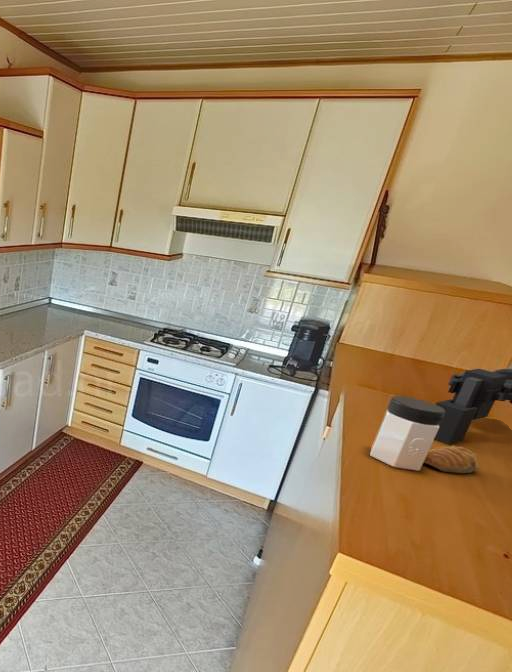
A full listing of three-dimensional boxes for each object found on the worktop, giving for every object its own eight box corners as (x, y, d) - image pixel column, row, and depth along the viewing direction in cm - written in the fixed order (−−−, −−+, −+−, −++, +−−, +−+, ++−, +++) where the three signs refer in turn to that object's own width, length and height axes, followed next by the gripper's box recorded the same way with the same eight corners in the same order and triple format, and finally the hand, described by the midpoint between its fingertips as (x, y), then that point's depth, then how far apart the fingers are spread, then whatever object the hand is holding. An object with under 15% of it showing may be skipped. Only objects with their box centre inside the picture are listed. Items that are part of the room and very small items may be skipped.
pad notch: (436, 430, 114) (450, 399, 111) (462, 440, 110) (478, 407, 107) (422, 434, 111) (436, 402, 108) (448, 444, 106) (464, 411, 104)
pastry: (447, 477, 91) (456, 459, 90) (409, 459, 97) (416, 442, 96) (478, 473, 94) (487, 455, 93) (439, 456, 100) (447, 439, 99)
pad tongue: (460, 408, 116) (479, 368, 112) (487, 416, 112) (507, 375, 108) (441, 412, 111) (459, 371, 108) (468, 421, 107) (488, 379, 104)
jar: (381, 466, 92) (406, 408, 88) (358, 447, 100) (380, 392, 96) (432, 474, 91) (460, 415, 87) (405, 454, 99) (429, 399, 95)
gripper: (553, 412, 112) (514, 424, 102) (458, 384, 127) (414, 392, 116) (570, 382, 110) (531, 390, 99) (470, 357, 125) (427, 362, 114)
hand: (468, 391), depth 108 cm, fingers closed on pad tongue, 5 cm apart
